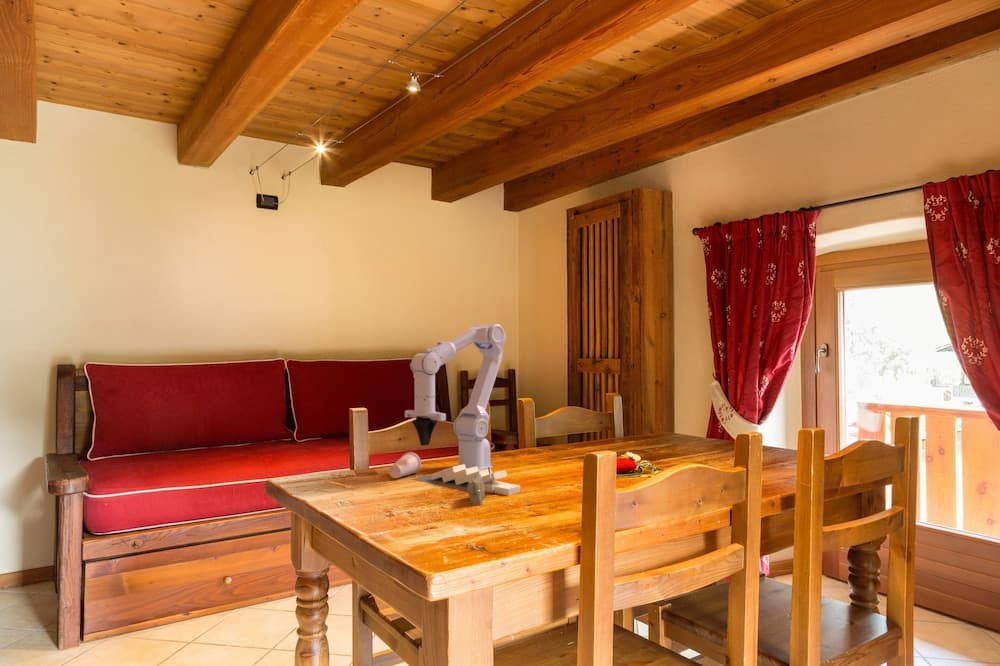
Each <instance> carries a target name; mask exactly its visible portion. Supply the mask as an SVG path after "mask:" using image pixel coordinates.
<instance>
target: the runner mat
mask: <svg viewBox="0 0 1000 666" xmlns="http://www.w3.org/2000/svg"><path fill="white" fill-rule="evenodd" d="M411 480H413V481H417V482H423V483H426V484H427V483H428V484H433V485H437V486H442V487H447V488H451V489H457V490H462V491H467V492H468V484H469V482H467V483H463V484H459V485H456V482H455V480H452V481H448V482H444V483H443V479H442V478H439V479H435V480H431V476H430V474H429V475H425V476H420V477H415V478H411ZM488 493H489V492H488V491H485V494H488Z"/></svg>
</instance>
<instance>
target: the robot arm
mask: <svg viewBox="0 0 1000 666" xmlns="http://www.w3.org/2000/svg"><path fill="white" fill-rule="evenodd" d="M506 339H507V334H506V332H505V329H504V328H503V327H502V325H500V324H499V323H494V324H480V323H478V324H477V323H476V324H474V325H473V326H470V327H468V329H467V330H466V331H464V332H462V333H461V334H459V335H457V337H454V339H452V340H450V341H448V340H439V341H437V344H436V345H434V346H433V347H431V348H426V349H425V351H424V352H423V353H417V354H415V355H414V356H413V358H412V359H411V362H410V363H409V367H410V370H411V371H412V374H413V378H414V409H408V410H407V409H406V410H404V418H414V419H413V420H412V423H411V424H413V426H414V428H415V431H416V432H417V435H418V439H419V442H420V446H429V445H430V442H431V439H432V436H433V435H432V434H433V432H434V429H435V427H436V425H437V423H438V422H444V421H446V420H447V414H446V413H444V412H440V411H436V374H437V372H439V369H440V367H441V366H443V365H445V364H446V363H448V362H450V361H451V360H453V359H454V358H456V357H455V356H456V352H459V351H461V350H462V349H464V348H466V347H468V346H470V345H472V344H473V345H474V346H475V347H476V349H477V350H478V351H479V352H480V353H481V355H482V357H483V358H482V361H481V364H480V367H479V371H478V373H477V376H476V380H475V382H474V386H473V389H472V392H471V395H470V398H469V400H468V404H467V405H466V406H465V407H463V408H462V409H461V410H460V412H459V414H458V416H457V417H456V418H455V420H454V422H453V431H454V433H455V434H456V435H457V439H458V465H463V464H465V466H466V469H467V468H472V467H476V466H478V470H479V471H481V470H485V469H488V468H491V469H492V468H493V466H492V465H491V445H490V441H489V440H488V439H487V438H486V437H487V434H488V432H489V422H490V415H489V414H488V412H487V411H486V409H487V408H488V407H487V406H488V404H489V400H490V396H491V395H492V394H491V393H492V390H493V387H494V385H495V382H496V378H497V375H498V372H499V369H500V365H501V362H502V360H503V354H504V353H503V352H504V345H505V342H506Z"/></svg>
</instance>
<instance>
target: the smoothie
mask: <svg viewBox="0 0 1000 666" xmlns="http://www.w3.org/2000/svg"><path fill="white" fill-rule="evenodd" d="M421 467H422V461H421V458H420V456H419V455H418V454H417V453H415V452H413V451H410V452H406V453H404V454H403V455H401V457H400V458H399V459H398V460H397V461H395V462H394V463H393V464H392V465H390V466H389V468H388V473H389V475H390V477H391V478H392V479H399V478H402V477H405V476H409V475H412V474H413V475H415V474H417V473H418V472H419V471H420V470H421Z"/></svg>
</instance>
